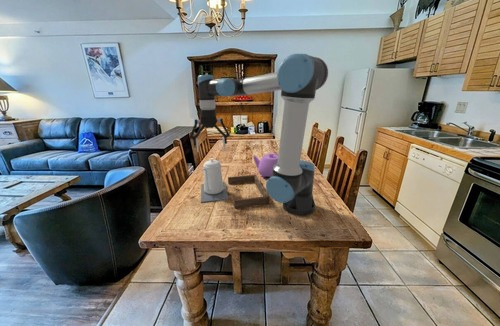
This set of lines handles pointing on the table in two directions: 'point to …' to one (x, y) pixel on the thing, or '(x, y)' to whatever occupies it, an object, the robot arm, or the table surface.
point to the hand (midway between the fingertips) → (211, 150)
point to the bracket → (250, 201)
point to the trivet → (213, 195)
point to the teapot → (266, 164)
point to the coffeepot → (212, 177)
